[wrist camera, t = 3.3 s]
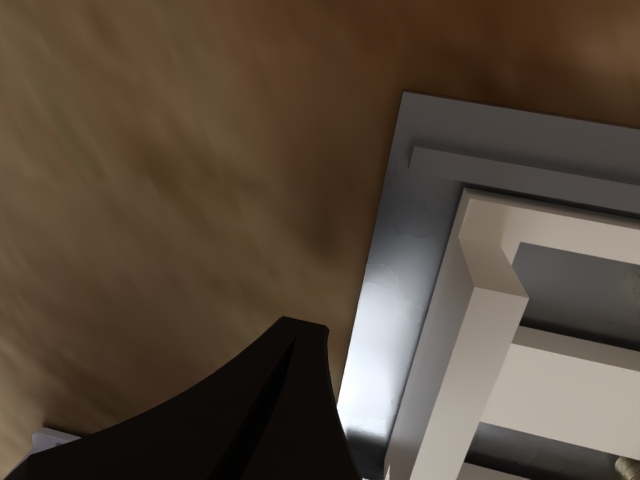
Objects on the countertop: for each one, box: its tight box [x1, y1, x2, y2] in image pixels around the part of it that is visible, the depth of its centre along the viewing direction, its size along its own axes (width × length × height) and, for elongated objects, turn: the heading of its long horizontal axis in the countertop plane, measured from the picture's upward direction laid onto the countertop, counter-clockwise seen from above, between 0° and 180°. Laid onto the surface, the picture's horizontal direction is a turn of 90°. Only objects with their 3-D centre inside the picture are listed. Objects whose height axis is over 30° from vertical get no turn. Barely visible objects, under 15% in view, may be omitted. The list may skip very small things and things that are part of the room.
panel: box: [384, 187, 640, 480], centre depth 10 cm, size 10×10×4 cm
